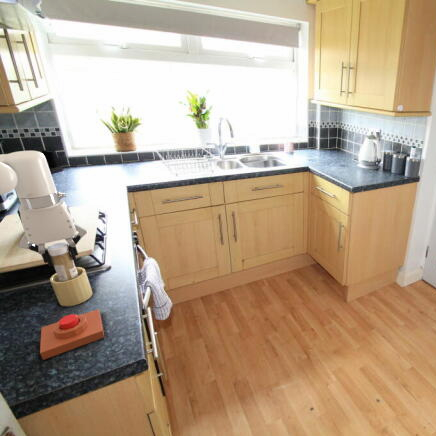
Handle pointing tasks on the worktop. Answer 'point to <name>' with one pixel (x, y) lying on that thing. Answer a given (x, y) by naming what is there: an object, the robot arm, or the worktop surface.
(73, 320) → the button
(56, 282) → the cup
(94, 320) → the panel
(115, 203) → the worktop surface
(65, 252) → the sprinkles bottle
